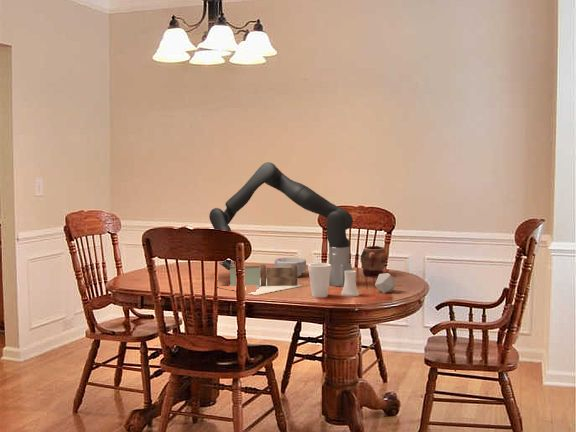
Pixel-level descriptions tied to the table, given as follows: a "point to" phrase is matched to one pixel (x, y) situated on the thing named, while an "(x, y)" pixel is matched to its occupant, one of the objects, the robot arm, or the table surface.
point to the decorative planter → (373, 261)
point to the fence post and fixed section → (279, 276)
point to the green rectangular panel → (246, 275)
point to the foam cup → (319, 278)
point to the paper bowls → (290, 261)
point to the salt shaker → (350, 284)
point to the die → (385, 283)
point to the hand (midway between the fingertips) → (237, 276)
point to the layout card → (270, 288)
